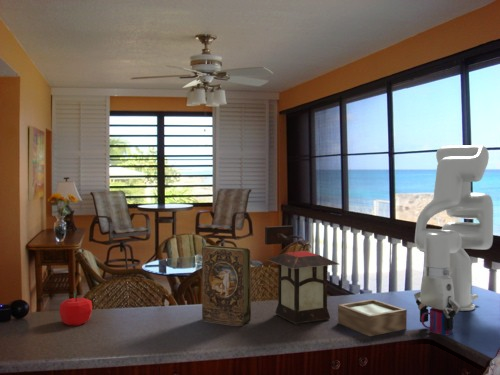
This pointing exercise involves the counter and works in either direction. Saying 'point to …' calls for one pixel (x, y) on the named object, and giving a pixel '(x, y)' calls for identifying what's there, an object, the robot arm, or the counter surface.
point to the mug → (436, 321)
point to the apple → (75, 311)
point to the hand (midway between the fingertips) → (435, 325)
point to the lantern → (299, 280)
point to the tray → (372, 317)
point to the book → (226, 285)
